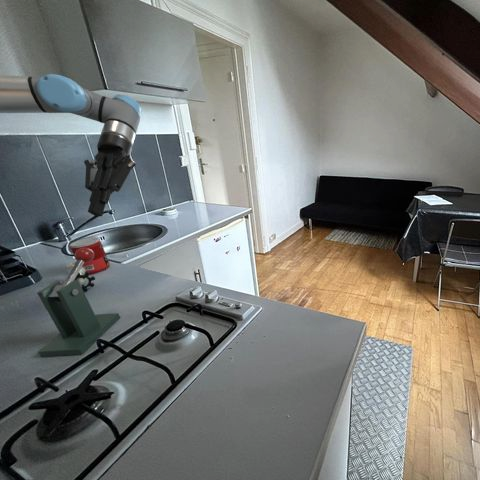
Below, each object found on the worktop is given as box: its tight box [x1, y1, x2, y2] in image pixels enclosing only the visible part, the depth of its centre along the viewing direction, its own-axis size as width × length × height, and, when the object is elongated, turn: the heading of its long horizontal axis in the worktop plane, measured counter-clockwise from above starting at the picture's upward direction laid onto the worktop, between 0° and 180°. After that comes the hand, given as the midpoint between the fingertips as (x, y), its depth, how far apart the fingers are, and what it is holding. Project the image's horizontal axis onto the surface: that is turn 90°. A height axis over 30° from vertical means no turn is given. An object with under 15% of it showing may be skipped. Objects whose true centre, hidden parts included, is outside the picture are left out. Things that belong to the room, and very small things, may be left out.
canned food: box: [69, 236, 111, 275], centre depth 92 cm, size 8×8×11 cm
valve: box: [65, 260, 96, 293], centre depth 83 cm, size 7×7×12 cm
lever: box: [49, 248, 94, 301], centre depth 60 cm, size 13×4×4 cm
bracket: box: [36, 280, 121, 358], centre depth 59 cm, size 12×9×14 cm
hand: (94, 213), depth 67 cm, fingers closed
